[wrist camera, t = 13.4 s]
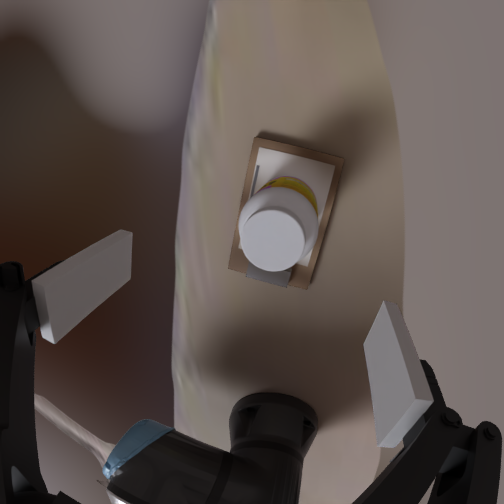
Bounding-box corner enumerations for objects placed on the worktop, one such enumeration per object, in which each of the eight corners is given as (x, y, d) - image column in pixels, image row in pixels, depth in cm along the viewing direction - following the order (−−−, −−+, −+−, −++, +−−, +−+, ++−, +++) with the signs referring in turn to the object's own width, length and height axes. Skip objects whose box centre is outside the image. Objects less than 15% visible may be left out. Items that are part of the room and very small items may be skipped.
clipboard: (307, 286, 38) (306, 294, 36) (229, 265, 39) (225, 272, 37) (343, 158, 32) (345, 159, 30) (255, 137, 33) (252, 136, 31)
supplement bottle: (279, 163, 32) (260, 175, 20) (329, 198, 33) (339, 232, 21) (245, 211, 35) (210, 249, 23) (293, 245, 35) (283, 299, 23)
